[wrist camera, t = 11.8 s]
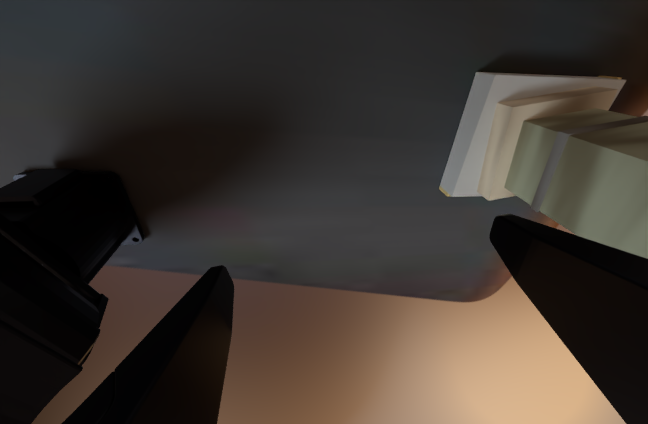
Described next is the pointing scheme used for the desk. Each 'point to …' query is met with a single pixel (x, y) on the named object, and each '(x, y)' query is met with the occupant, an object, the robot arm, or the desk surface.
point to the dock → (480, 113)
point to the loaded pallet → (573, 164)
